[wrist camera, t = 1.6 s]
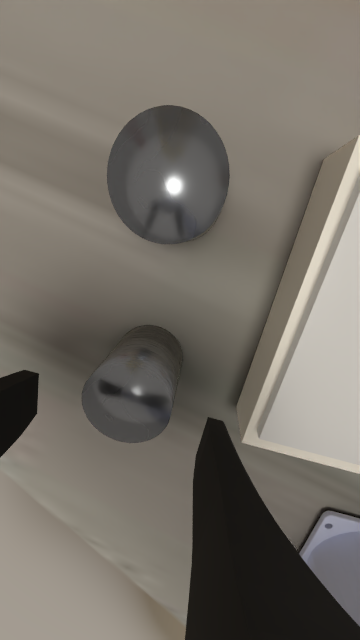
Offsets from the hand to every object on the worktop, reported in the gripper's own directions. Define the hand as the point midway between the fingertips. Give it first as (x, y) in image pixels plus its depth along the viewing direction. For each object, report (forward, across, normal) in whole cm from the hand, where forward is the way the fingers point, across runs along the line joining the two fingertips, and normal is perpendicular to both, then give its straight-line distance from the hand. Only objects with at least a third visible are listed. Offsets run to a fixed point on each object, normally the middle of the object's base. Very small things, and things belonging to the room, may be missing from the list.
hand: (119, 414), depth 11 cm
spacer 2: (+6, 0, 0) cm, 6 cm away
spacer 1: (+6, 0, -9) cm, 11 cm away
